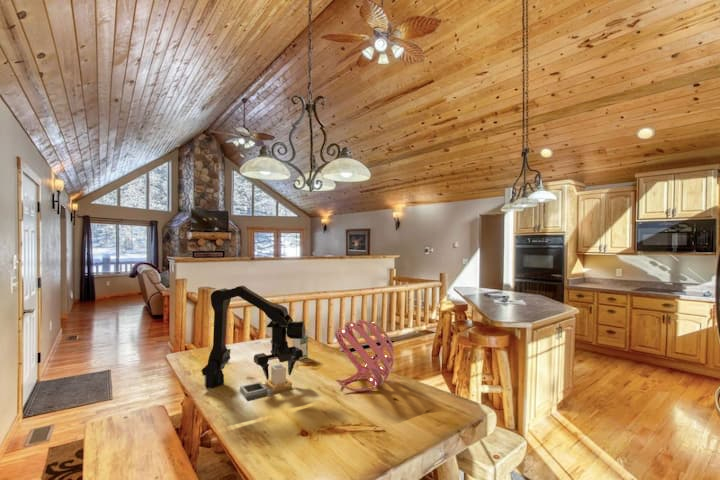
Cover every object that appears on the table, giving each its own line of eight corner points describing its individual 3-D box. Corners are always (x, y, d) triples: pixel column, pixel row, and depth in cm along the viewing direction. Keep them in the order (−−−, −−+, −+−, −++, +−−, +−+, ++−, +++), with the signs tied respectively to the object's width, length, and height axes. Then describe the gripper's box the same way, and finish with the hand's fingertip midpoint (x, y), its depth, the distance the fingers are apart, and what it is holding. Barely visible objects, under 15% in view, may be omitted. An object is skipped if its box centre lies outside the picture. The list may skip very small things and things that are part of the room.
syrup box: (299, 360, 174) (299, 331, 174) (291, 358, 177) (291, 329, 178) (307, 357, 178) (308, 329, 179) (300, 355, 182) (300, 327, 182)
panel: (247, 403, 125) (247, 395, 125) (238, 392, 135) (238, 384, 135) (293, 392, 135) (294, 384, 135) (282, 382, 145) (282, 375, 145)
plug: (275, 390, 135) (275, 369, 135) (271, 386, 138) (271, 365, 139) (285, 387, 137) (285, 366, 137) (281, 383, 141) (281, 363, 141)
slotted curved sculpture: (318, 350, 125) (373, 304, 135) (309, 348, 151) (356, 309, 161) (365, 413, 123) (417, 362, 133) (347, 400, 149) (392, 358, 159)
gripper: (263, 346, 126) (262, 389, 126) (309, 339, 137) (308, 378, 137) (253, 340, 136) (253, 380, 135) (297, 333, 146) (297, 370, 146)
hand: (278, 377), depth 138 cm, fingers open, 9 cm apart
